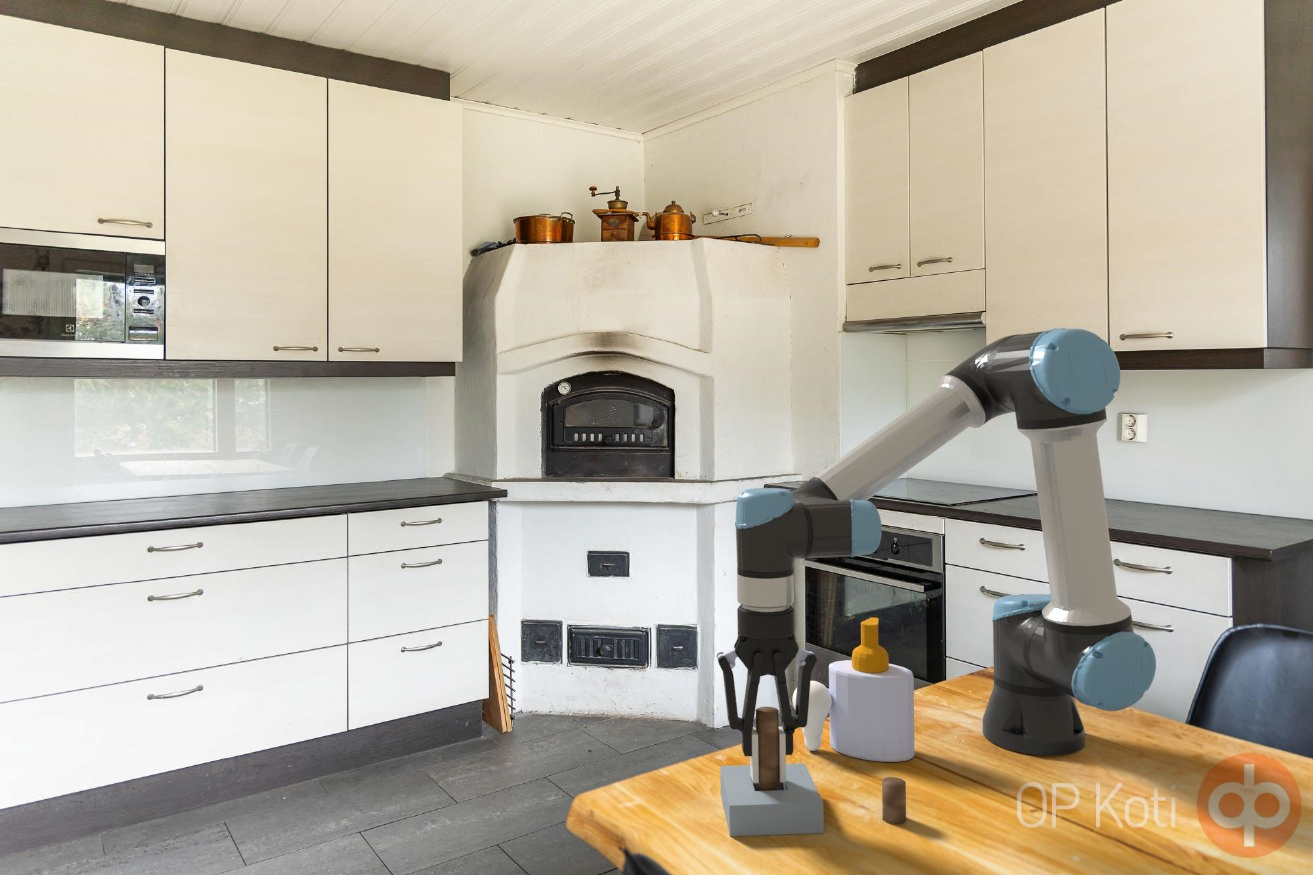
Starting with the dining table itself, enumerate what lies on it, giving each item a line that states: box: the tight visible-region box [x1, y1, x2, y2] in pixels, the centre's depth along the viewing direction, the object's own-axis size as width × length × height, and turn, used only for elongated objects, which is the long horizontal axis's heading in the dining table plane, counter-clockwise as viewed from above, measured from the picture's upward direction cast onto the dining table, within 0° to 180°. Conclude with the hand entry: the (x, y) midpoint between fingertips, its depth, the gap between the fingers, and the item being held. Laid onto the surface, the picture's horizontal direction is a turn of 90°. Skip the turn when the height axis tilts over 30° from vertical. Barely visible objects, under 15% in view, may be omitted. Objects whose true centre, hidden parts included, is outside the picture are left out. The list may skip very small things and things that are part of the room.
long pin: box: [755, 706, 780, 791], centre depth 117 cm, size 3×3×14 cm
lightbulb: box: [792, 680, 832, 752], centre depth 137 cm, size 6×6×11 cm
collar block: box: [719, 762, 825, 837], centre depth 117 cm, size 12×12×4 cm
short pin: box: [881, 776, 907, 826], centre depth 114 cm, size 3×3×5 cm
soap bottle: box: [828, 617, 915, 763], centre depth 136 cm, size 13×8×20 cm, turn 63°
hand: (767, 777), depth 117 cm, fingers closed on long pin, 3 cm apart
